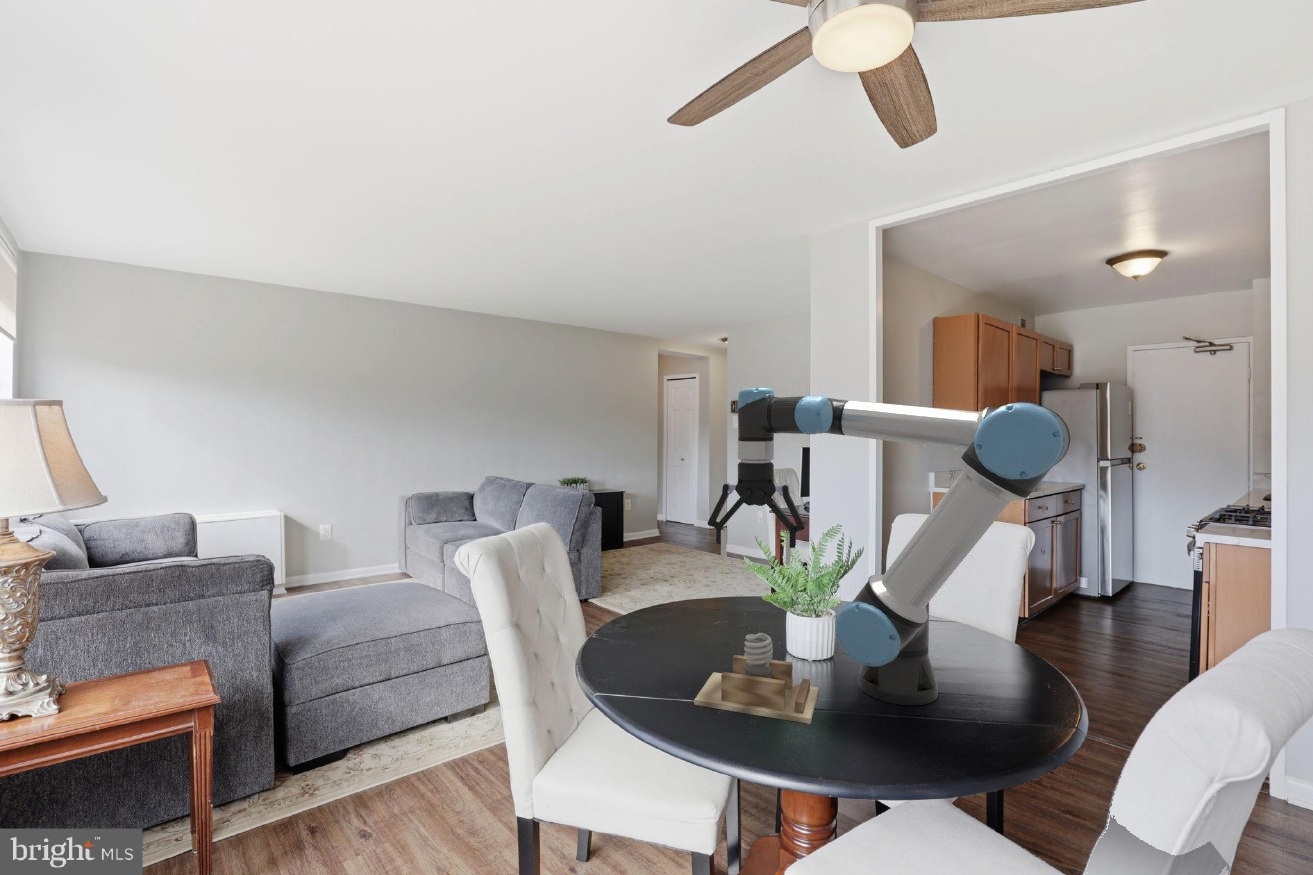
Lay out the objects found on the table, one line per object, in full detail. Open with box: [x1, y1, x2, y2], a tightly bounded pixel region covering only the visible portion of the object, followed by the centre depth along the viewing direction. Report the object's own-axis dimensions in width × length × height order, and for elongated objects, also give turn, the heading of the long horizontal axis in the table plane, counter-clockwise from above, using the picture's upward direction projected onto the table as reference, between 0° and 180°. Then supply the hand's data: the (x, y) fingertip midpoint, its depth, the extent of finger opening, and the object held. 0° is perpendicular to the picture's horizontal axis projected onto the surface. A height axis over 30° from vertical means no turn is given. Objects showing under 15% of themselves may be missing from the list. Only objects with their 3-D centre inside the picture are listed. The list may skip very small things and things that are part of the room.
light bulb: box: [743, 632, 774, 679], centre depth 122 cm, size 6×6×12 cm
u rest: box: [693, 654, 819, 725], centre depth 122 cm, size 22×14×6 cm, turn 70°
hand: (755, 561), depth 131 cm, fingers open, 13 cm apart
